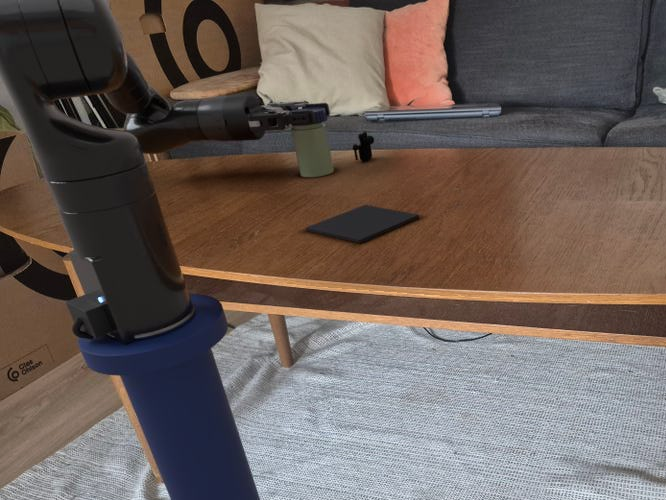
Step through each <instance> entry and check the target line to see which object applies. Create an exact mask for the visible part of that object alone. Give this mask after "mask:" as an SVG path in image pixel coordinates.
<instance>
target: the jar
mask: <svg viewBox="0 0 666 500" xmlns="http://www.w3.org/2000/svg"><path fill="white" fill-rule="evenodd" d="M290 131H291V137H292V141H293V146H294V151H295V155H296V160H297V165H298V169H299V174H300V175H299V176H301V177H303V178H318V177H323V176H327V175H331V174H333V173H334V172H335V167H334V162H333V157H332V156H333V155H332V152H331V151H332V150H331V146H330V141H329V135H328V131H327V125H326V124H325V123H324V122H322V123H318V124H312V125H304V126H293V127H291V128H290Z"/></svg>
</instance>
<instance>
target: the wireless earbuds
mask: <svg viewBox="0 0 666 500" xmlns="http://www.w3.org/2000/svg"><path fill="white" fill-rule="evenodd" d="M357 139H358V140H359V144H356V143H355V144H354V143H353V145H352V150H353V153H354V158H355V160H356V161H359V159H360V161H361V162H363V163H365V162H366V161H369V160H371V159H372V157H373V152H372V151H373V150H372V144H374V142H375V137H374V136H372V135H368V133H367V132H366V131H363V132H362V133H359V134H358V135H357ZM358 155H359V156H358Z"/></svg>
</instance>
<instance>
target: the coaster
mask: <svg viewBox="0 0 666 500" xmlns="http://www.w3.org/2000/svg"><path fill="white" fill-rule="evenodd" d="M419 218H420V215H419V214H416V213H413V212H411V213H410V212H406V211H399V210H395V209H390V208H383V207H378V206H372V205H366V204H363V205H361V206H358V207H355V208H352V209H351V210H347V211H345V212H343V213H340V214H338V215H334V216H332V217H329V218H327V219H324V220H321V221H320V222H317V223H314V224H311V225H309V226H306V227H305V230H306V231H305V232H309V233H313V234H317V235H318V234H319V235H322V236H327V237H330V238H335V239H339V240H344V241H347V242H352V243H356V244H363V243H365V242H367V241H370V240H371V239H374V238H376V237H378V236H381V235H383V234H387V233H388V232H390V231H393V230H395V229H397V228H399V227H401V226H405V225H406V224H409V223H411V222H413V221H416V220H418V219H419Z"/></svg>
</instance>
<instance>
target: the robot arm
mask: <svg viewBox="0 0 666 500" xmlns="http://www.w3.org/2000/svg"><path fill="white" fill-rule="evenodd" d="M0 78H1V79H0V80H1V81H2V83H3V86H4V87H5V89H6V91H7V93H8V95H9V98H10V99H11V103H12V104H13V106H14V109H15V111H16V113H17V115H18V117H19V119H20V121H21V124H22V127H23V129H24V132H25V134H26V136H27V139H28V141H29V143H30V145H31V148H32V150H33V153H34V155H35V157H36V160H37V163H38V165H39V167H40V171H41V172H42V175H43V178H44V180H45V183H46V186H47V187H48V190H49V192H50V195H51V198H52V200H53V202H54V205H55V207H56V209H57V212H58V215H59V217H60V220H61V222H62V225H63V228H64V229H65V232H66V235H67V237H68V239H69V243H70V244H71V247H72V249H73V250H70V251H69V252H68V258H69V259H70V262H71V264H72V267H73V269H74V272H75V274H76V276H77V279H78V282H79V284H80V286H81V289H82V292H83V295H79V296H77V297H75V298H71V299H69V300H66V301H65V305H66V306H67V309H68V311H69V313H70V316H71V318H72V320H73V324H72V327H71V331H72V333H73V334H74V335H75V336H76V337H77V338H79V337H80V338H85V339H90V340H91V339H93V338H94V337H96V338H98V337H100V336H102V335H106V336H108V337H109V338H111V339H113V340H116V341H117V342H119V343H121V344H123V345H128V344H131V343H133V342H136V341H140V340H146V339H151V338H155V337H159V336H162V335H165V334H168V333H170V332H173V331H175V330H177V329H179V328H181V327H183V326H184V325H186V324H187V323H189V322H190V321H191V320H192V319H193V318H194V316H195V314H196V311H195V308H194V305H193V303H192V302H191V297H190V294H191V293H190V292H189V290H188V286H187V284H186V280H185V277H184V275H183V272H182V268H181V265H180V263H179V259H178V256H177V254H176V251H175V248H174V244H173V241H172V237H171V235H170V232H169V229H168V226H167V223H166V220H165V218H164V214H163V211H162V208H161V204H160V202H159V199H158V196H157V193H156V188H155V186H154V183H153V181H152V177H151V174H150V171H149V168H148V165H147V161H146V158H145V155H144V154H146V155H159V154H163V153H166V152H170V151H173V150H175V149H178V148H180V147H183V146H186V145H189V144H191V143H201V142H202V143H203V142H222V143H225V142H227V143H229V142H243V141H259V140H261V139H262V138H263V137H264V136H265V133H266V131H267V132H269V131H284V130H286V129H287V128H289V129H291V128H293V124H294V126H295V125H312V124H314V123H315V122H316V120H315V115H314V111H312V110H303V111H292V110H297V109H300V108H301V109H302V108H311V107H323V108H325V111H326V113H327V117H329V116H330V115H331V112H330V105H329V104H328V103H327V102H318V103H316V102H315V103H309V100H308V101H307V100H302V101H286V102H283V101H280V102H276V101H275V102H268V103H266V104H265V105H263V104H262V103H261V101H260V99H259V98H258V97H257V96H255V95H254V94H236V95H221V96H219V95H218V96H212V97H209V98H200V99H186V100H181V101H177V102H176V103H175V104H174V105H173V106H172V107H171V105H170V103H169V102H168V100H167V99H166V98H165V97H164V96H162V94H160V93H159V92H158V90H156V89H155V88H154V87H153V86H152V85H151V84H149V83H148V81H147V79H146V77H145V75H144V73H142V70H141V69H140V66H139V65H138V64H137V62H136V61H135V59H134V57H133V56H132V55H131V54H130V53H129V52H128V51H127V49H126V45H125V40H124V37H123V35H122V32H121V30H120V26H119V25H118V23H117V20H116V18H115V16H114V14H113V12H112V6H111V1H110V0H0ZM102 94H103V95H104V96H105V98H106V99H107V101H108V102H109V104H110V105H111V106H112V107H113V108H114V109H115V110H117V111H118V112H120V113H122V114H125V115H126V114H127V115H126V117H125V121H124V124H123V128H122V130H121V129H115V128H109V127H102V126H97V125H93V124H90V123H87V122H83V121H80V120H78V119H76V118H73V117H71V116H69V115H67V114H65V113H64V112H63V111H61V109H59V107H58V106H57V105H56V104H55V101H57V100H66V99H73V98H81V97H88V96H92V95H94V96H95V95H96V96H97V95H102ZM290 111H292V112H290ZM291 113H292V114H291Z"/></svg>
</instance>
